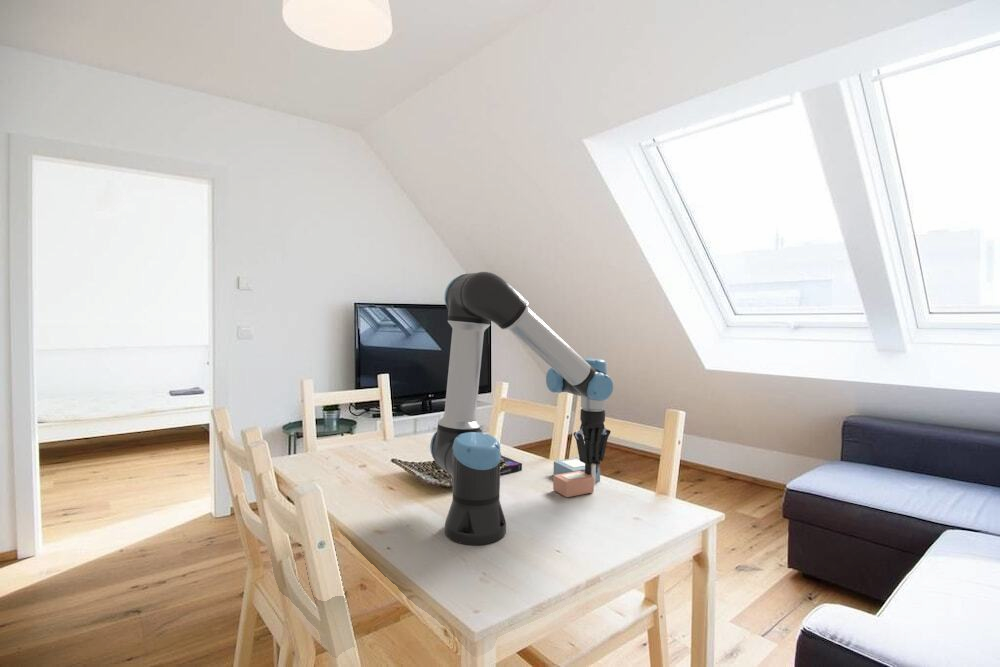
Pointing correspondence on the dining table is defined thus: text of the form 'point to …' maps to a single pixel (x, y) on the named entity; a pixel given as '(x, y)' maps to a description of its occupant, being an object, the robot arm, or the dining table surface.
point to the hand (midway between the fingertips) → (590, 484)
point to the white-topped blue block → (572, 467)
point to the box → (510, 466)
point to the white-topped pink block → (573, 483)
